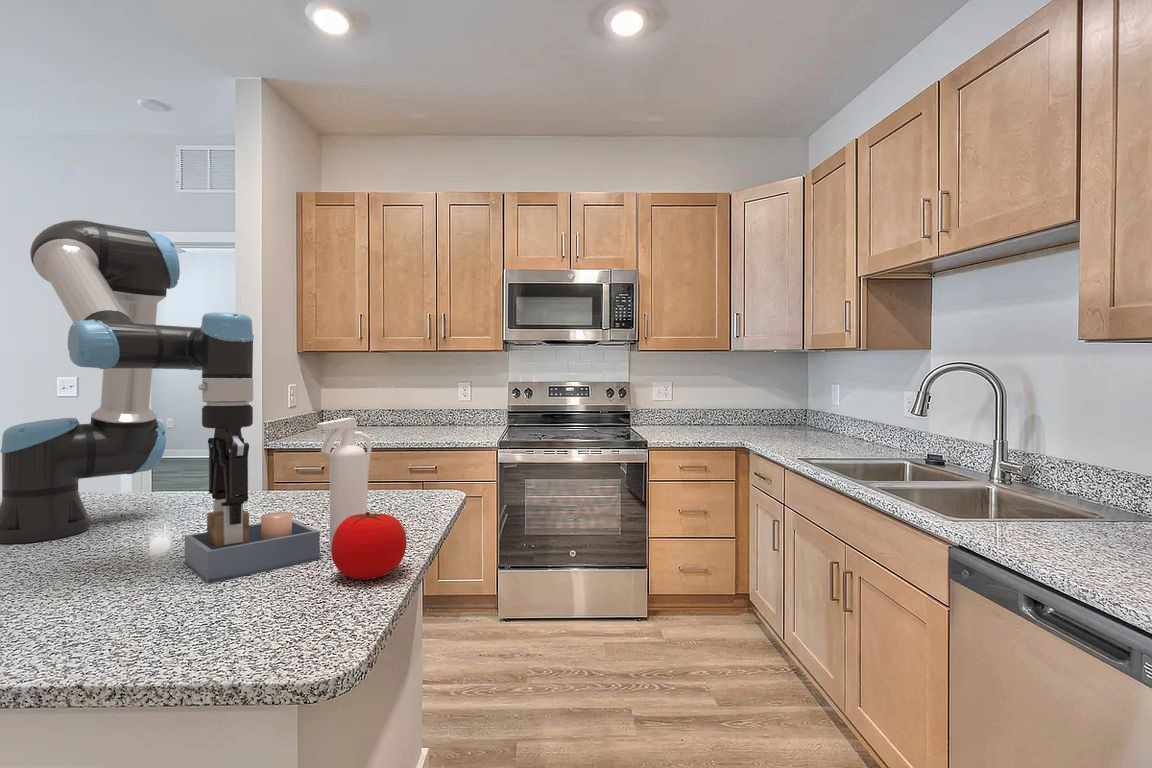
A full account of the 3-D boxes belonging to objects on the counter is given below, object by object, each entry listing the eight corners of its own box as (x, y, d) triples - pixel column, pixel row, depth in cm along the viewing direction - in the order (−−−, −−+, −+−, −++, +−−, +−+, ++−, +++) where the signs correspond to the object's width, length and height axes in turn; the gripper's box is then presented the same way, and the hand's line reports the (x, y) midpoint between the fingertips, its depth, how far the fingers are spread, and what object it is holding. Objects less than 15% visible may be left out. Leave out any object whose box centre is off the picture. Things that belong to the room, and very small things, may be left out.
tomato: (322, 572, 99) (322, 510, 99) (391, 559, 106) (391, 501, 106) (343, 593, 90) (344, 524, 90) (417, 577, 97) (417, 514, 97)
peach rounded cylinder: (256, 553, 107) (256, 515, 107) (285, 547, 111) (285, 510, 111) (267, 559, 104) (267, 519, 104) (296, 553, 108) (296, 515, 107)
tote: (184, 564, 103) (184, 535, 103) (289, 544, 116) (289, 518, 116) (207, 583, 94) (207, 551, 93) (319, 559, 106) (319, 531, 106)
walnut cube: (207, 542, 102) (207, 513, 102) (239, 536, 105) (239, 508, 105) (216, 547, 98) (216, 517, 98) (249, 541, 102) (248, 512, 102)
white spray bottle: (391, 542, 116) (386, 415, 116) (334, 559, 107) (327, 421, 106) (371, 537, 121) (366, 414, 120) (314, 553, 111) (308, 420, 110)
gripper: (187, 402, 105) (188, 533, 105) (219, 406, 92) (219, 555, 93) (234, 401, 110) (234, 526, 111) (270, 405, 98) (270, 545, 98)
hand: (227, 539), depth 102 cm, fingers closed on walnut cube, 5 cm apart
